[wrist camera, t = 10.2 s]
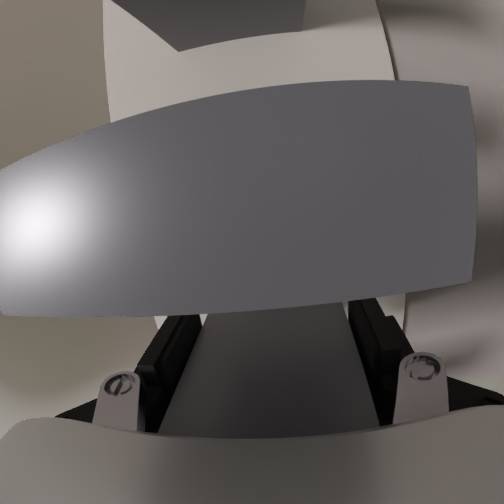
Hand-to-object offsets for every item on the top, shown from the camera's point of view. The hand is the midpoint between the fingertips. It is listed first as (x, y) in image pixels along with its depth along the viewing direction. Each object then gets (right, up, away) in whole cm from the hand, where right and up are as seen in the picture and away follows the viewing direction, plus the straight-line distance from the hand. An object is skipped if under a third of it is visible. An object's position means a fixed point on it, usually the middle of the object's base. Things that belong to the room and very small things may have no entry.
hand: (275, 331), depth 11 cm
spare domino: (0, +1, +2) cm, 2 cm away
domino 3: (-1, +6, 0) cm, 6 cm away
